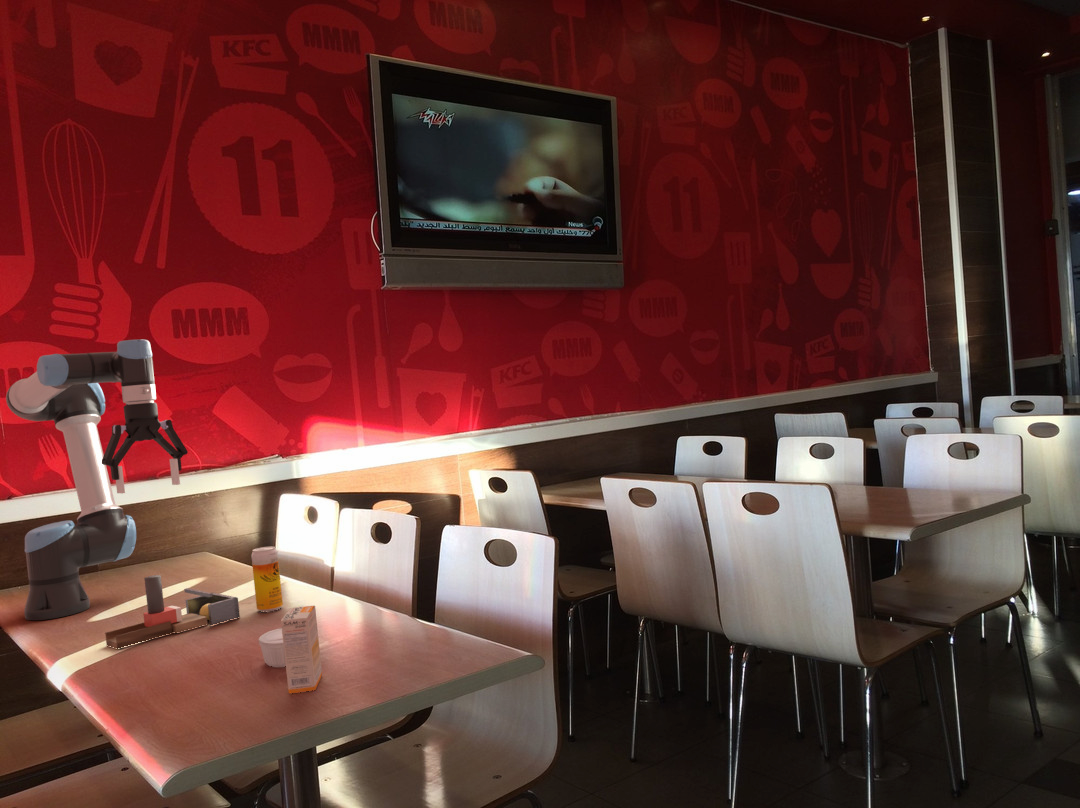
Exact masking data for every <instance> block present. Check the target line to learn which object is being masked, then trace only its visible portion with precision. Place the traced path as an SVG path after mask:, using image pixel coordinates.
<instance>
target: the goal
mask: <svg viewBox="0 0 1080 808" xmlns="http://www.w3.org/2000/svg"><path fill="white" fill-rule="evenodd" d="M183 590H184V593H187V594H190V595H191V594H192V595H197V596H194V597H190V598H186V599H185V606H186V607H185V609H186V614H189V613H193V614H197V615H200V609H201V608H202V606H204V605H205V604H208V612H209V621H208V622H209V626H210V625H213V624H217V623H220V622H224V621H227V620H230V619H234V618H238V617H240V618H241V615H240V605H239V598H238V597H237V596H232V595H226V594H222V593H217V592H208V591H203V590H199V589H193V588H189V587H186V588H184V589H183Z"/></svg>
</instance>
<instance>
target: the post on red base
mask: <svg viewBox="0 0 1080 808" xmlns="http://www.w3.org/2000/svg"><path fill="white" fill-rule="evenodd" d="M144 585H145V586H144V587H145V588H144V589H145V594H146V595H145V597H146V604H147V605H146V606H147V611H146V612H142V615H143V622H144V624H145V626H146V627H151V626H154V625H158V624H162V623H165V622H169V621H171V623H175V622H179V621H182V615H183V614H182V607H180V606H176V605H169V606H165V603H164V594H163V584H162V576H161V574H157V575H150V576H145V577H144Z"/></svg>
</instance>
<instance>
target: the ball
mask: <svg viewBox="0 0 1080 808" xmlns="http://www.w3.org/2000/svg"><path fill="white" fill-rule="evenodd" d="M200 615H201V616H205V617H207V620H209V612H208V604H205V605H204V606H202V608H201V609H200Z"/></svg>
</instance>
